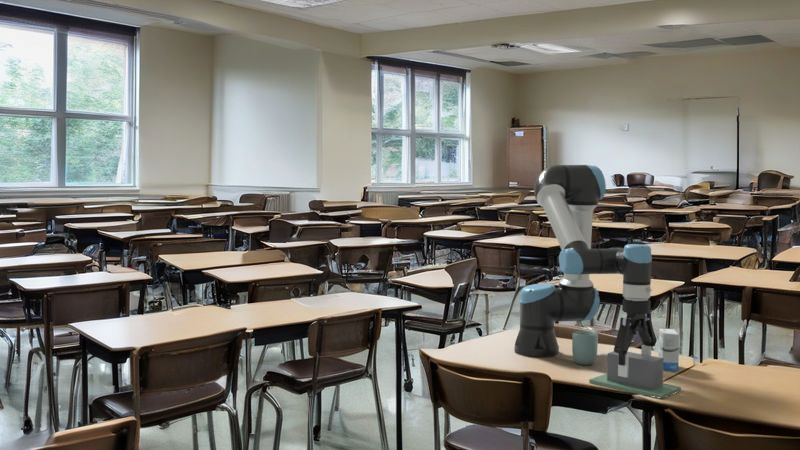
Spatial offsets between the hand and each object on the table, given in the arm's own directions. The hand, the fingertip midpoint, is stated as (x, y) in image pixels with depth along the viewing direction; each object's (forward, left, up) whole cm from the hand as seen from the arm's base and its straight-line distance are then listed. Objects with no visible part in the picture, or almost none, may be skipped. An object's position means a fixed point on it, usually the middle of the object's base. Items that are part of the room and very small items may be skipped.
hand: (634, 372), depth 204 cm
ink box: (-3, +28, -4) cm, 29 cm away
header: (0, 0, -4) cm, 4 cm away
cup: (-24, +13, -4) cm, 28 cm away
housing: (0, 0, -3) cm, 3 cm away
